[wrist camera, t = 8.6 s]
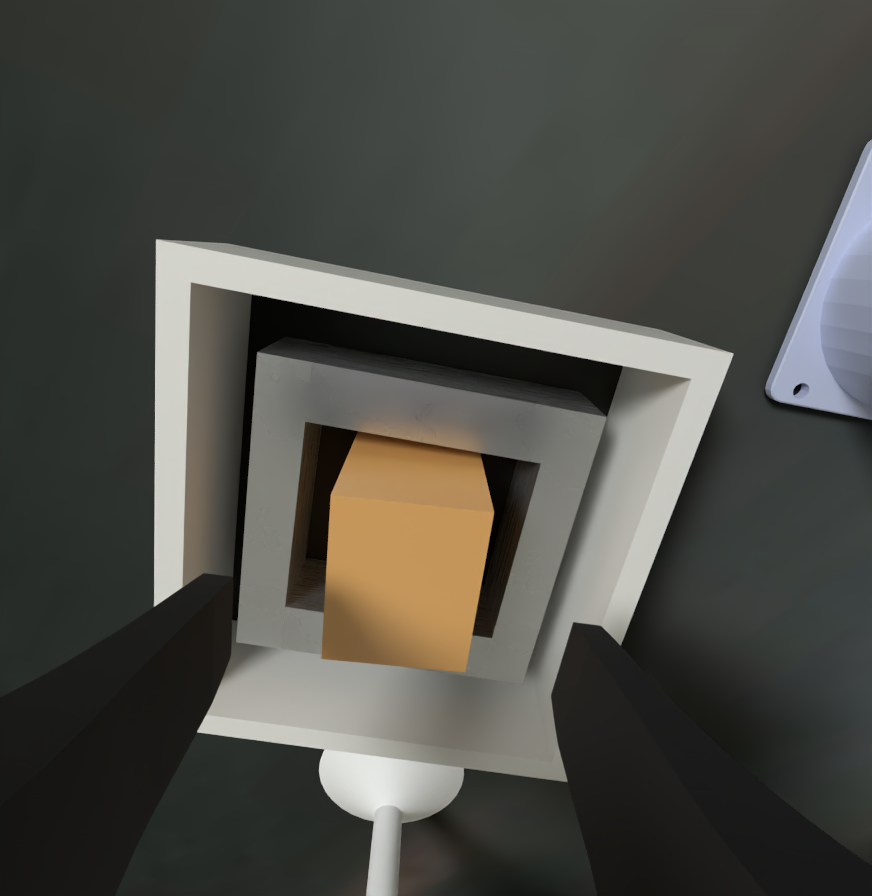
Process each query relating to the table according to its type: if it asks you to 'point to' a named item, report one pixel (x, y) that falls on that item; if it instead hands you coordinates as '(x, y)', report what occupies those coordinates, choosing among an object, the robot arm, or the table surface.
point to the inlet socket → (423, 420)
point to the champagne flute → (387, 802)
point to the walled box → (587, 551)
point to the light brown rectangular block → (405, 554)
